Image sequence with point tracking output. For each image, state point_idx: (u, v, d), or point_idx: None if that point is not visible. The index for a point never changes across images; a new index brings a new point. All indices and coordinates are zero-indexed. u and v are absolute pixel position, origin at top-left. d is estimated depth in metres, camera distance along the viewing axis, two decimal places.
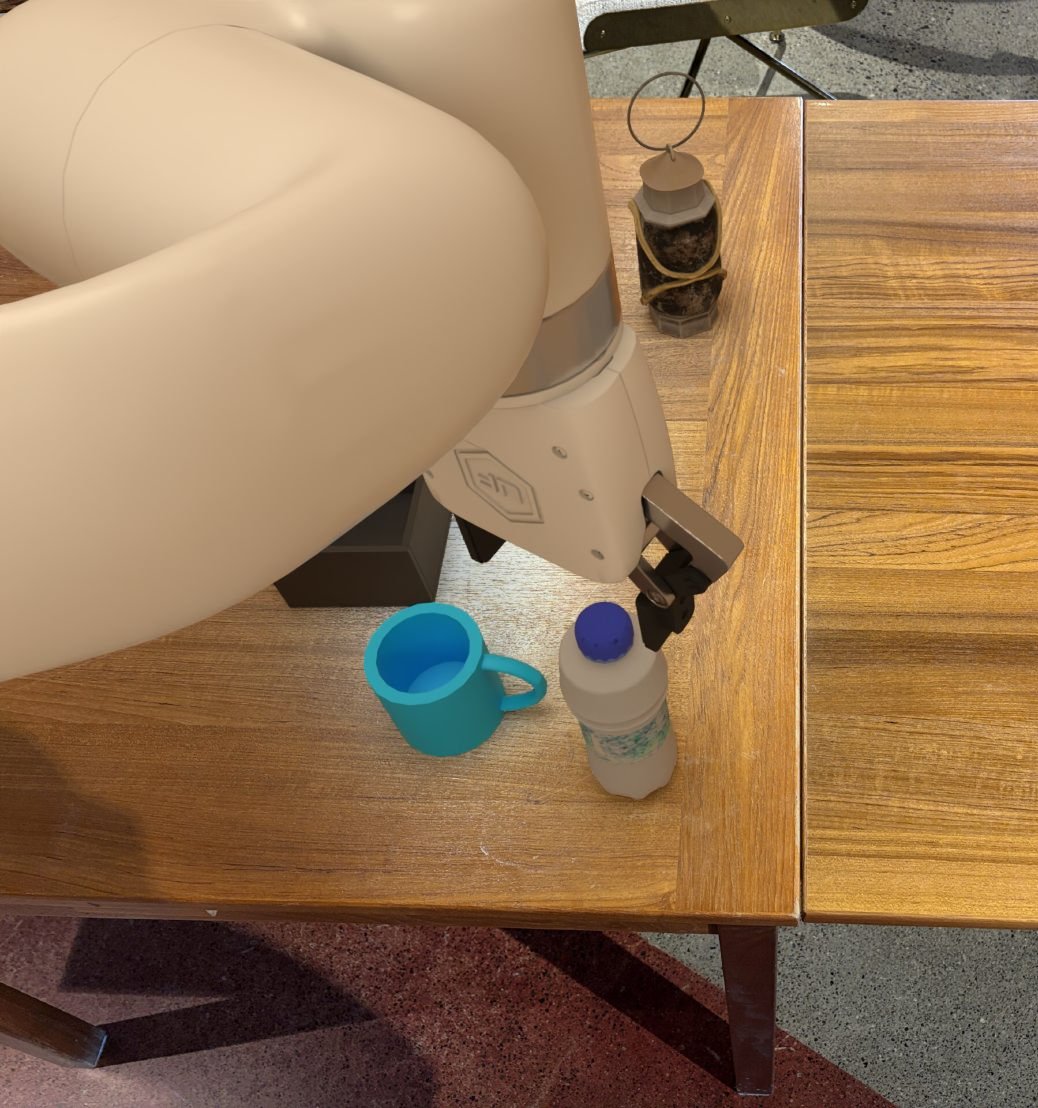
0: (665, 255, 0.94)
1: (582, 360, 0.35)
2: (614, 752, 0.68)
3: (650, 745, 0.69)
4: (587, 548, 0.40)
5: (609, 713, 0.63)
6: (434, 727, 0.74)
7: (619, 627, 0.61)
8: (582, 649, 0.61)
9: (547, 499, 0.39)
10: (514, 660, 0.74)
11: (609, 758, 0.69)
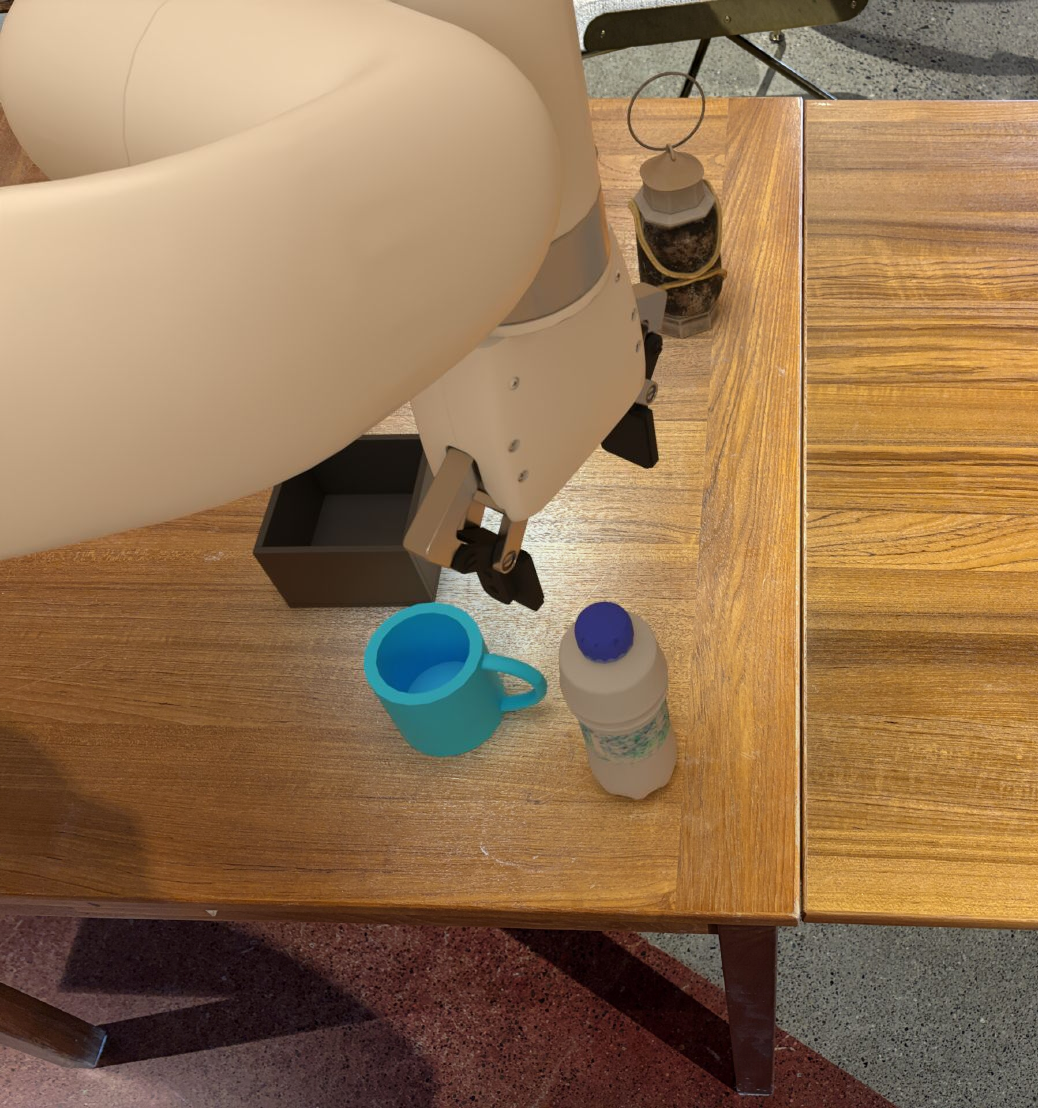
0: (665, 255, 0.94)
1: None
2: (614, 752, 0.68)
3: (650, 745, 0.69)
4: None
5: (609, 713, 0.63)
6: (434, 727, 0.74)
7: (619, 627, 0.61)
8: (582, 649, 0.61)
9: None
10: (514, 660, 0.74)
11: (609, 758, 0.69)
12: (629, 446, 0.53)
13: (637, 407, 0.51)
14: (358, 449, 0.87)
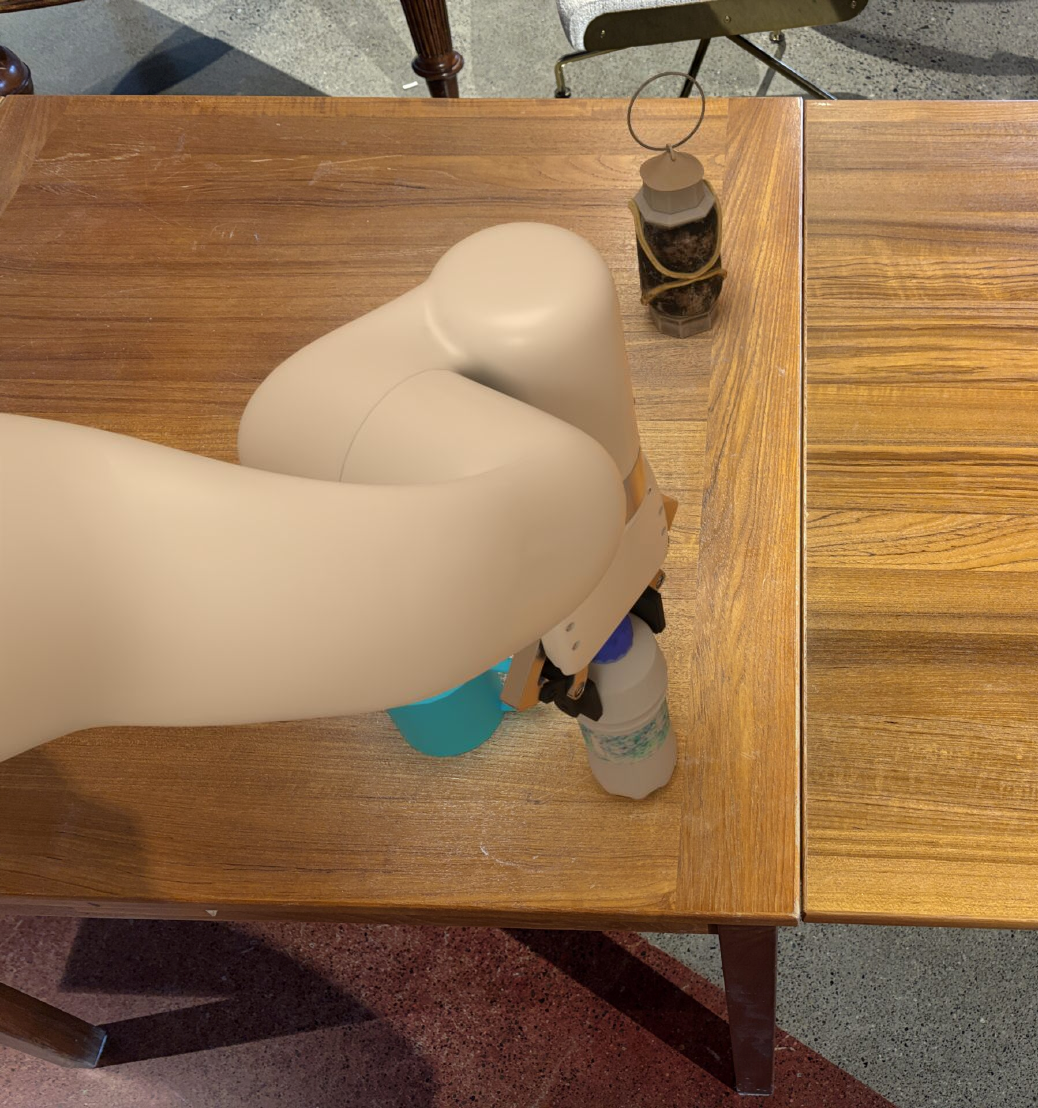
0: (665, 255, 0.94)
1: None
2: (614, 752, 0.68)
3: (650, 746, 0.69)
4: None
5: (609, 714, 0.63)
6: (434, 727, 0.74)
7: (618, 628, 0.61)
8: None
9: None
10: None
11: (609, 758, 0.69)
12: (642, 617, 0.65)
13: (648, 591, 0.63)
14: None
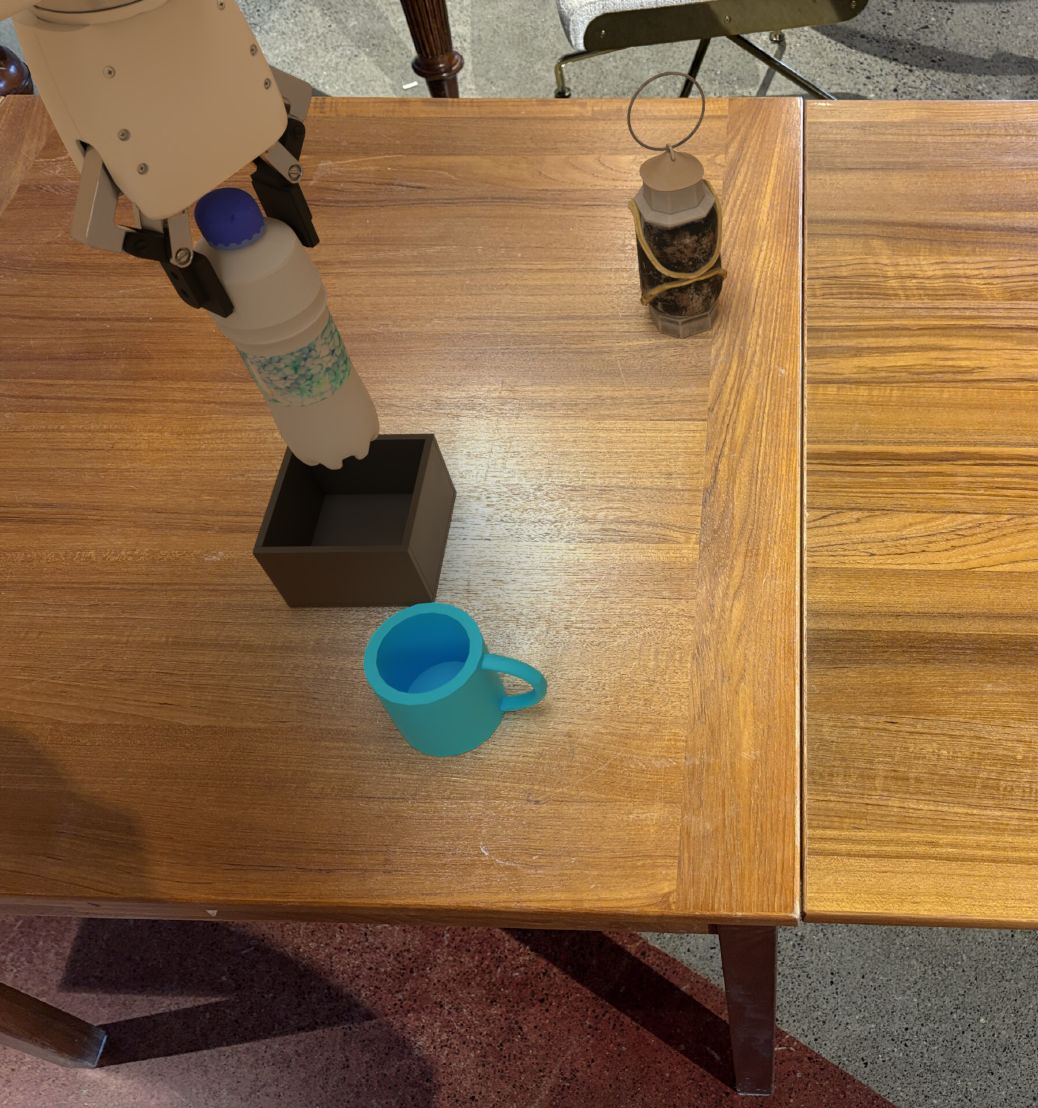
0: (665, 255, 0.94)
1: None
2: (277, 386, 0.65)
3: (318, 383, 0.66)
4: None
5: (244, 314, 0.60)
6: (434, 727, 0.74)
7: (237, 205, 0.58)
8: (202, 232, 0.58)
9: None
10: (514, 660, 0.74)
11: (277, 397, 0.66)
12: (290, 226, 0.62)
13: (285, 185, 0.60)
14: None
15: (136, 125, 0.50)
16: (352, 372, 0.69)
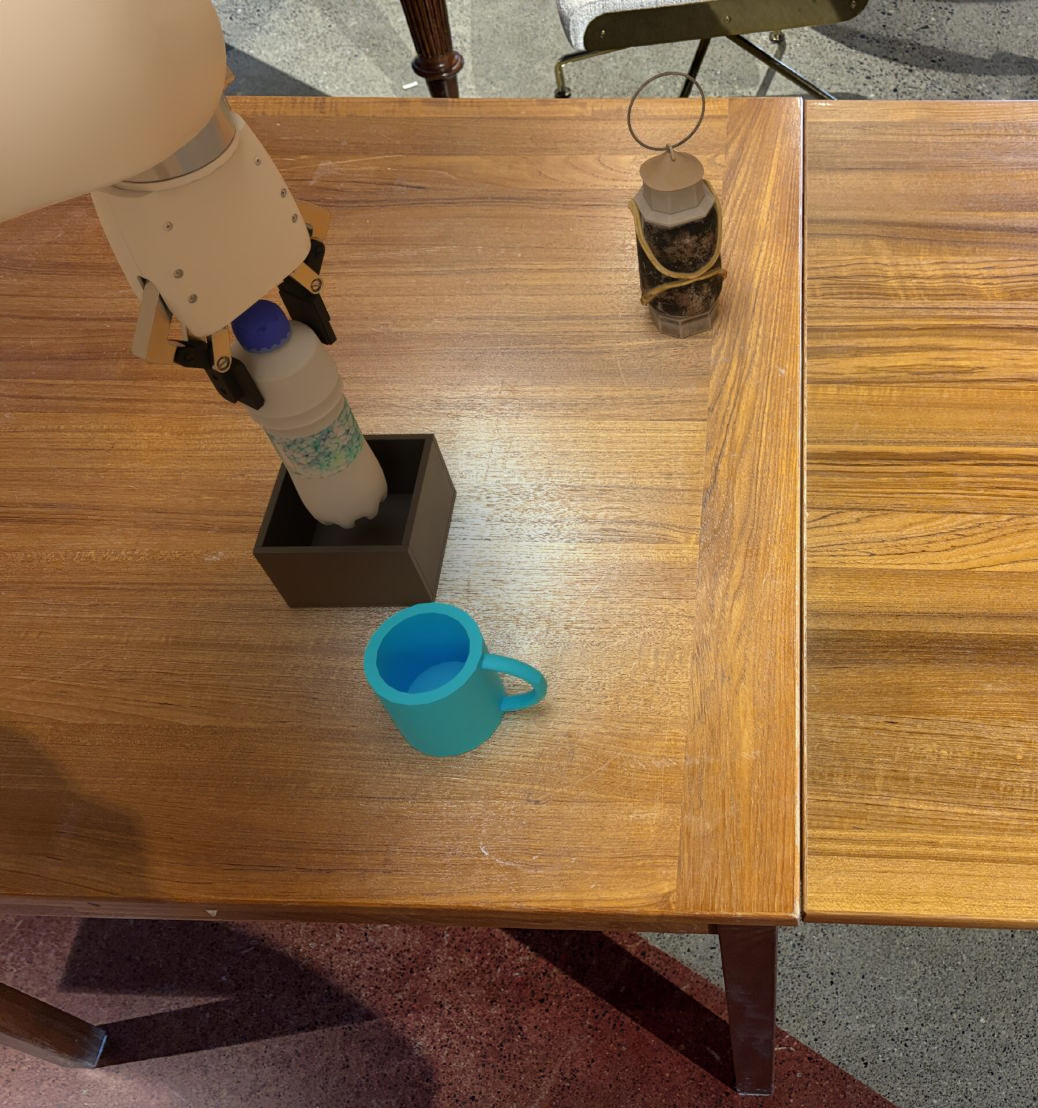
0: (665, 255, 0.94)
1: None
2: (300, 462, 0.75)
3: (335, 458, 0.76)
4: None
5: (273, 406, 0.70)
6: (434, 727, 0.74)
7: (268, 317, 0.68)
8: (237, 339, 0.68)
9: None
10: (514, 660, 0.74)
11: (299, 471, 0.76)
12: (311, 327, 0.72)
13: (307, 295, 0.70)
14: None
15: (188, 265, 0.60)
16: (364, 446, 0.79)
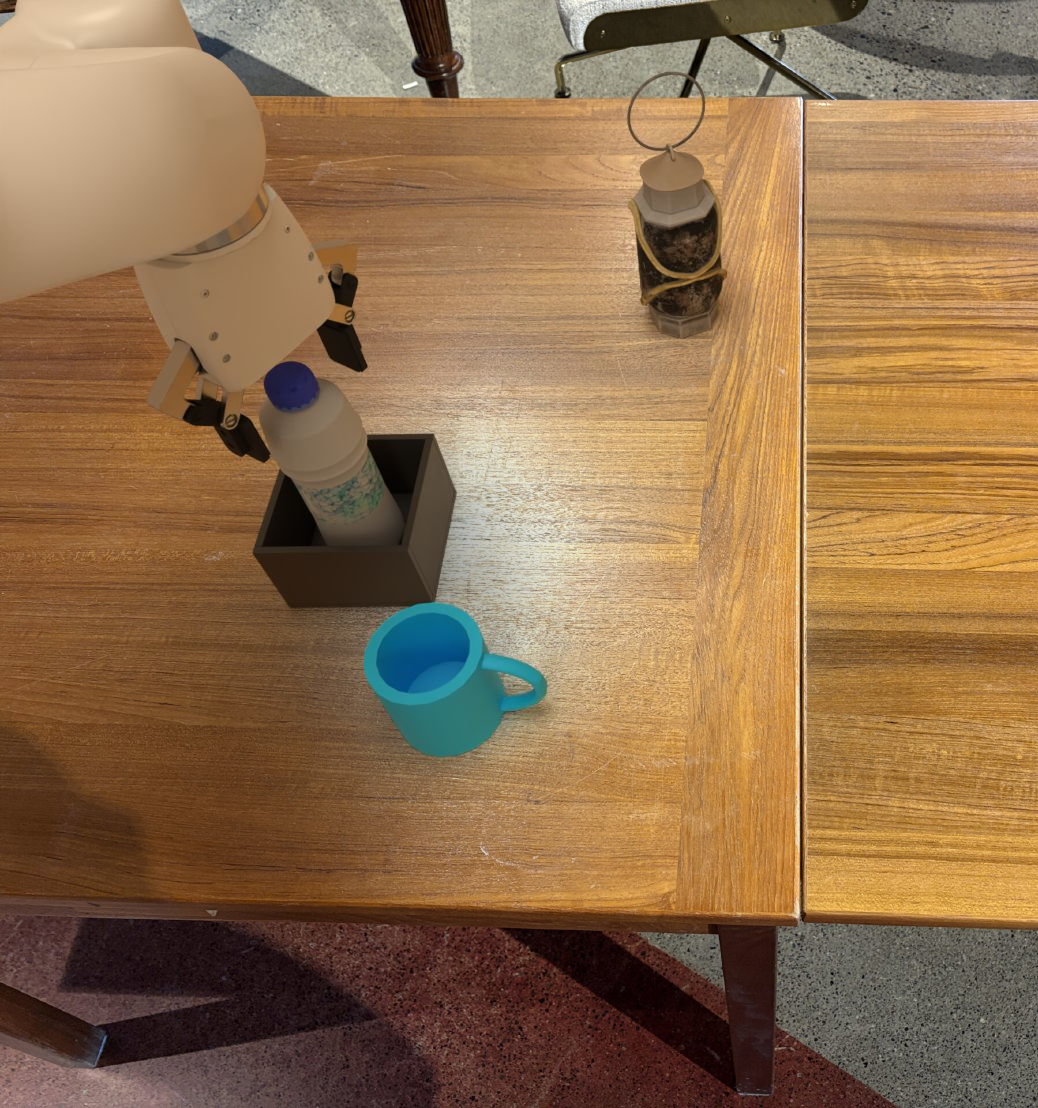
0: (665, 255, 0.94)
1: None
2: (326, 510, 0.80)
3: (359, 506, 0.80)
4: None
5: (302, 460, 0.75)
6: (434, 727, 0.74)
7: (298, 378, 0.72)
8: (269, 399, 0.72)
9: None
10: (514, 660, 0.74)
11: (324, 517, 0.80)
12: (344, 355, 0.76)
13: (341, 326, 0.74)
14: None
15: (223, 328, 0.63)
16: (385, 493, 0.83)
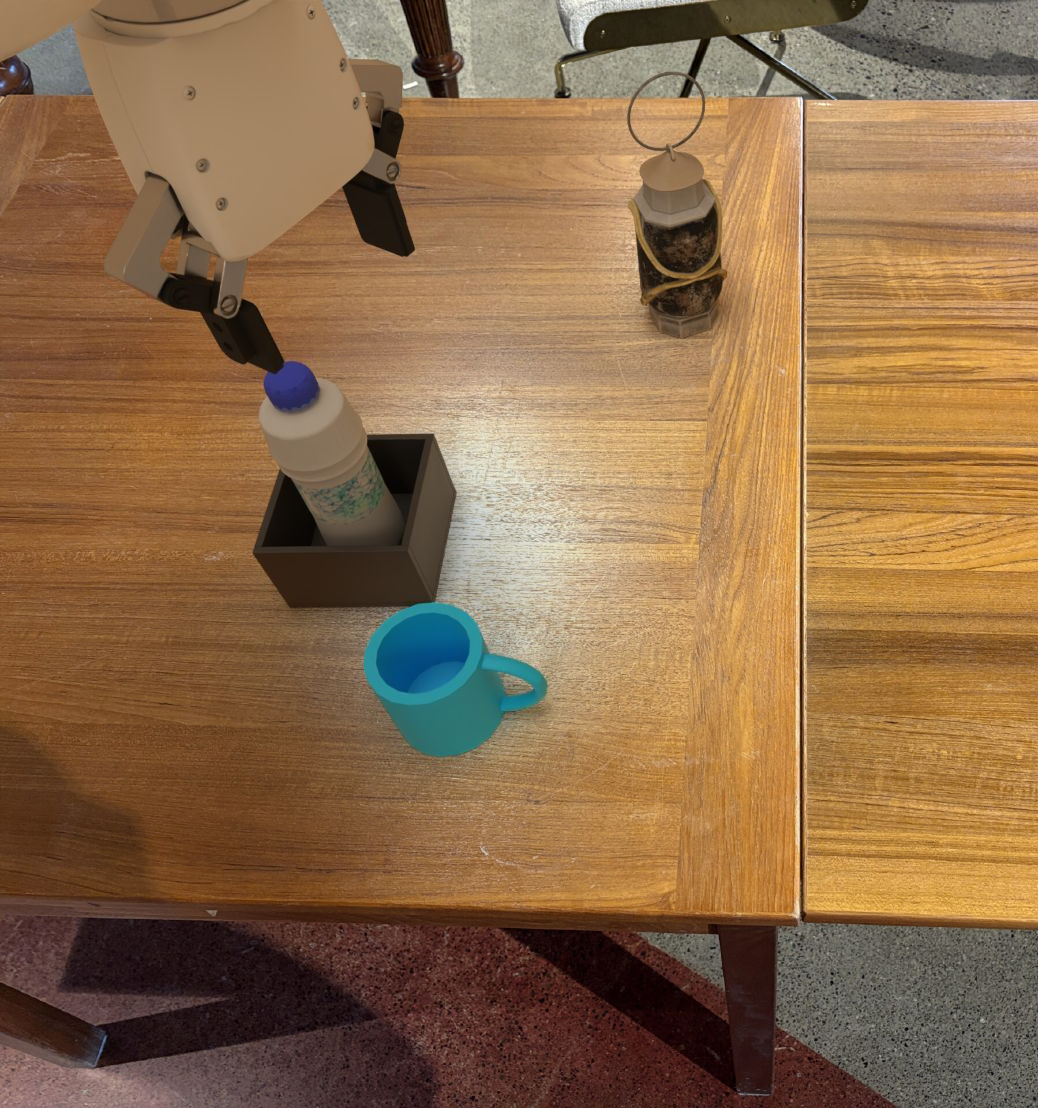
0: (665, 255, 0.94)
1: None
2: (326, 510, 0.80)
3: (359, 506, 0.80)
4: None
5: (302, 460, 0.75)
6: (434, 727, 0.74)
7: (298, 378, 0.72)
8: (269, 399, 0.72)
9: None
10: (514, 660, 0.74)
11: (324, 517, 0.80)
12: (382, 232, 0.55)
13: (381, 186, 0.53)
14: None
15: (217, 154, 0.43)
16: (385, 493, 0.83)
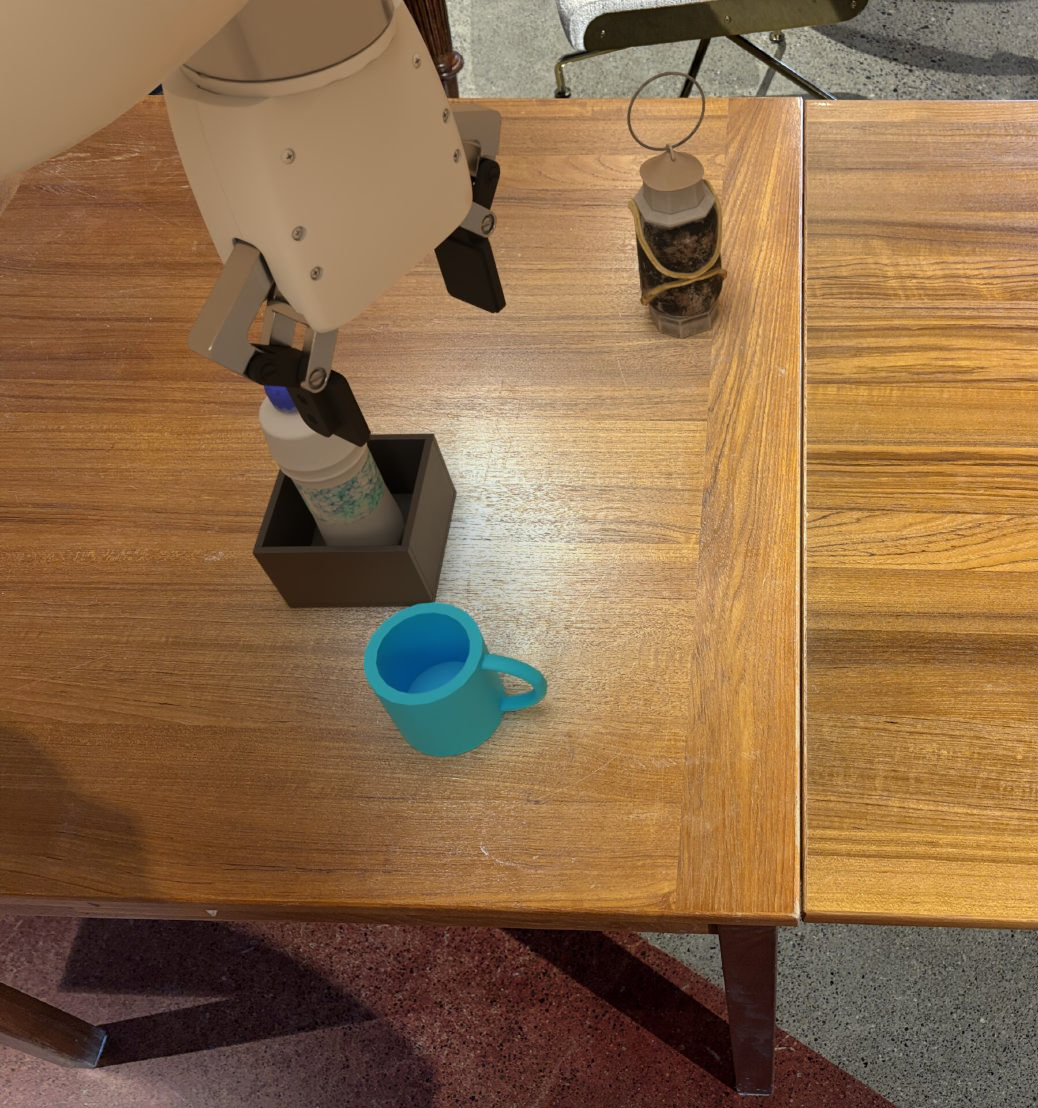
0: (665, 255, 0.94)
1: None
2: (326, 510, 0.80)
3: (359, 506, 0.80)
4: None
5: (302, 460, 0.75)
6: (434, 727, 0.74)
7: None
8: (269, 399, 0.72)
9: None
10: (514, 660, 0.74)
11: (324, 517, 0.80)
12: (472, 287, 0.51)
13: (474, 239, 0.49)
14: None
15: (314, 220, 0.38)
16: (385, 493, 0.83)
